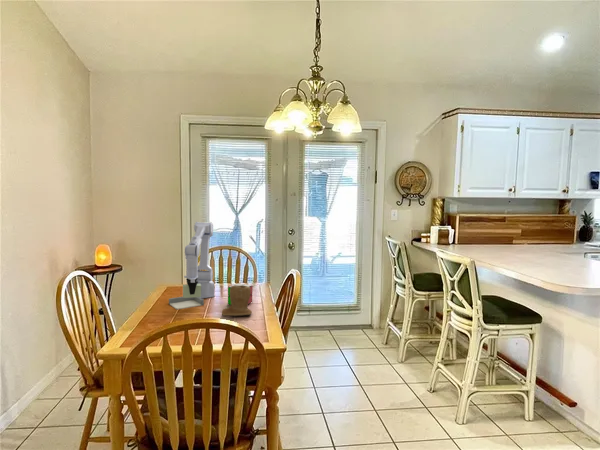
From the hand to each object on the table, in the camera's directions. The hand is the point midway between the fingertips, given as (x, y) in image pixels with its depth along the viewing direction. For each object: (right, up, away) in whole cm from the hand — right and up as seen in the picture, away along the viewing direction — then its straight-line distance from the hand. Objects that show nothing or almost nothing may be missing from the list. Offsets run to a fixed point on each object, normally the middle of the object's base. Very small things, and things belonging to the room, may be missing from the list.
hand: (192, 293), depth 205 cm
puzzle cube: (+24, -8, +12) cm, 28 cm away
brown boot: (+25, -10, -7) cm, 28 cm away
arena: (-5, -8, +7) cm, 12 cm away
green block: (0, -2, 0) cm, 2 cm away
